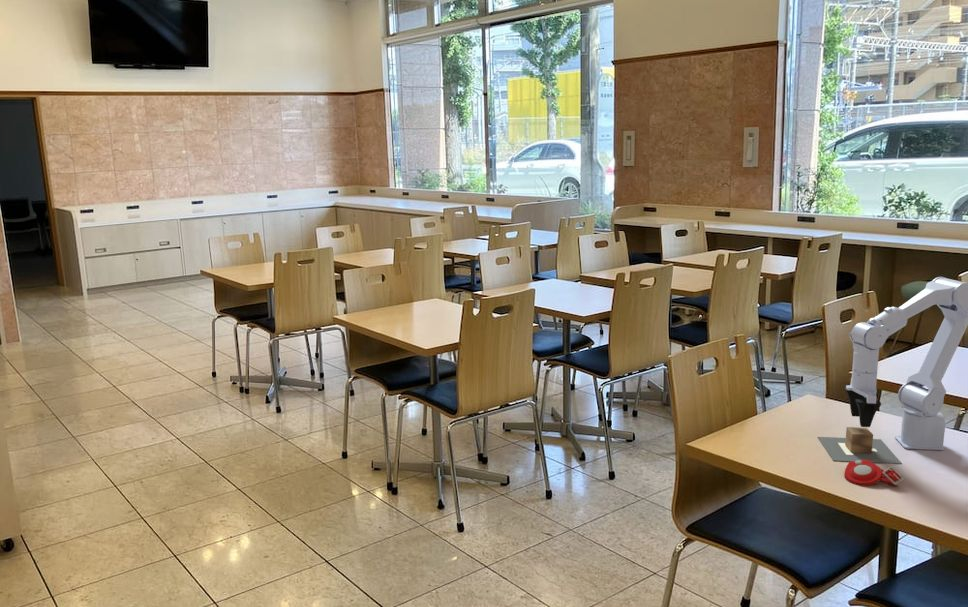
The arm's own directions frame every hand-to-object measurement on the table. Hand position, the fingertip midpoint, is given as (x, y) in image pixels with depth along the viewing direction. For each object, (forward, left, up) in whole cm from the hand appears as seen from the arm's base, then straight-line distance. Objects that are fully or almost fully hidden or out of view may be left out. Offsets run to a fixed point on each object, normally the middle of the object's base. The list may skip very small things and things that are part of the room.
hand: (860, 421), depth 205 cm
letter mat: (0, 0, -8) cm, 8 cm away
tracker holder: (+3, +19, -8) cm, 21 cm away
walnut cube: (0, 0, -8) cm, 8 cm away
